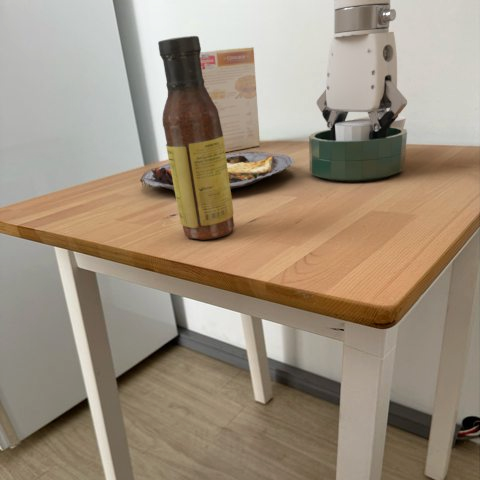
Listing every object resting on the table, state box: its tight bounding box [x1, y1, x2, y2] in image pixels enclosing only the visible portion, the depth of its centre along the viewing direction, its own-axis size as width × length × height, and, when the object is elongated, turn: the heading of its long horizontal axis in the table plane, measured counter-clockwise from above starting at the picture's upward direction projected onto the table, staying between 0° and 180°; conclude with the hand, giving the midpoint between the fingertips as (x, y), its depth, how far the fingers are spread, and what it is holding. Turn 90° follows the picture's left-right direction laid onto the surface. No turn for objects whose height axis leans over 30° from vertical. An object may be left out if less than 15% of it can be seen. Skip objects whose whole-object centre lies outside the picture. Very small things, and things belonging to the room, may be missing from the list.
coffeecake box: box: [200, 46, 261, 153], centre depth 101 cm, size 15×7×20 cm, turn 120°
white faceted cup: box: [335, 119, 373, 141], centre depth 74 cm, size 7×7×7 cm
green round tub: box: [308, 127, 408, 183], centre depth 75 cm, size 15×15×6 cm
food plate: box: [139, 151, 295, 192], centre depth 78 cm, size 25×23×4 cm
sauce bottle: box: [157, 35, 235, 241], centre depth 51 cm, size 7×6×20 cm
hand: (356, 154), depth 75 cm, fingers closed on white faceted cup, 6 cm apart
